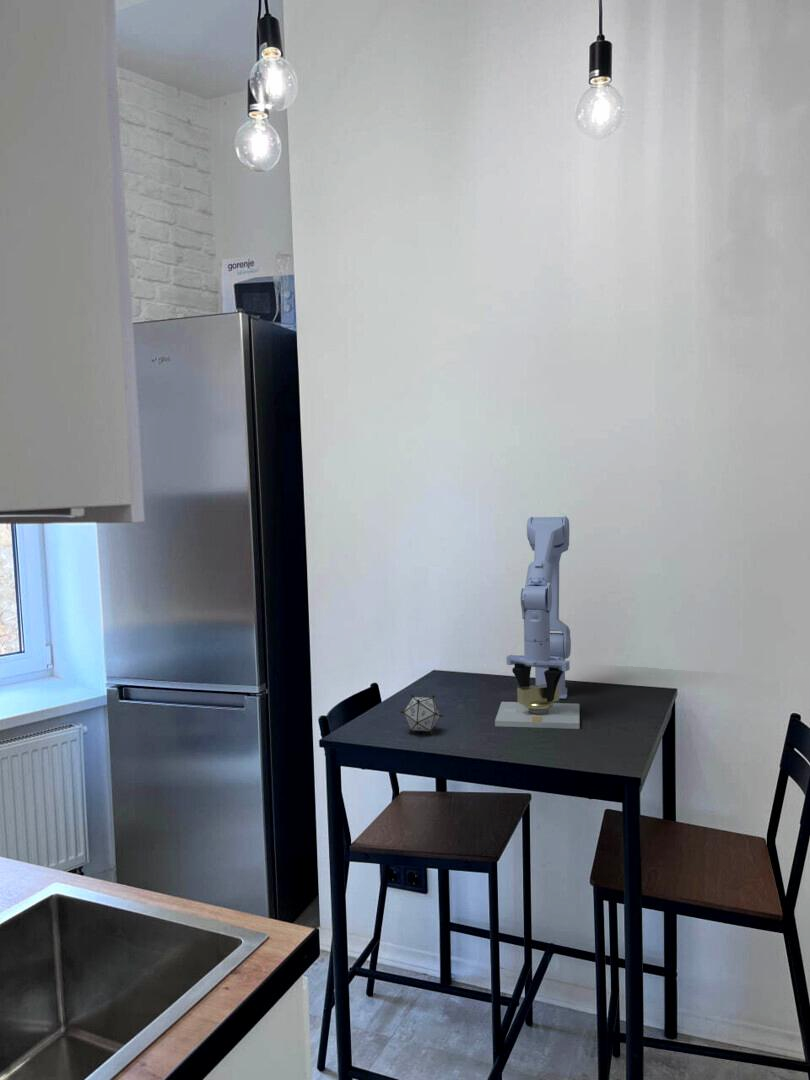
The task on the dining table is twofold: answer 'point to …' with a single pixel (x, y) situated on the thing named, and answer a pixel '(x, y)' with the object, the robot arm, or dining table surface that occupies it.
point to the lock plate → (538, 716)
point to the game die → (421, 714)
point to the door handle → (535, 696)
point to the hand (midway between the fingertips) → (538, 699)
